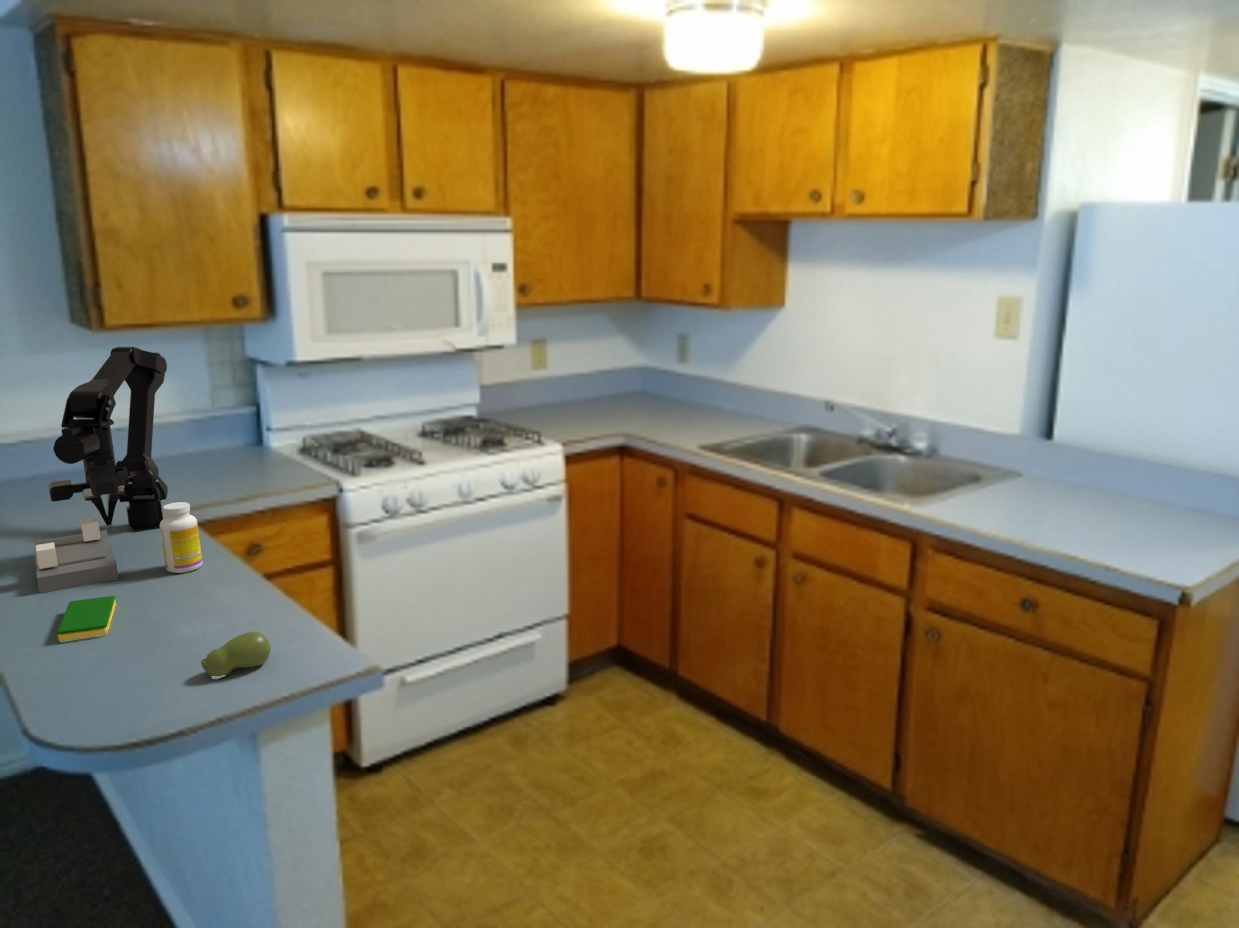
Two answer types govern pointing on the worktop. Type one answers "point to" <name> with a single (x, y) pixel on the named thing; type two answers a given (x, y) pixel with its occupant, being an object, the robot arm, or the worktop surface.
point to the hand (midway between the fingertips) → (108, 525)
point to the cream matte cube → (90, 529)
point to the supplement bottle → (180, 539)
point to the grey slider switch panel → (77, 563)
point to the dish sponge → (87, 618)
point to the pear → (237, 654)
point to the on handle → (46, 555)
